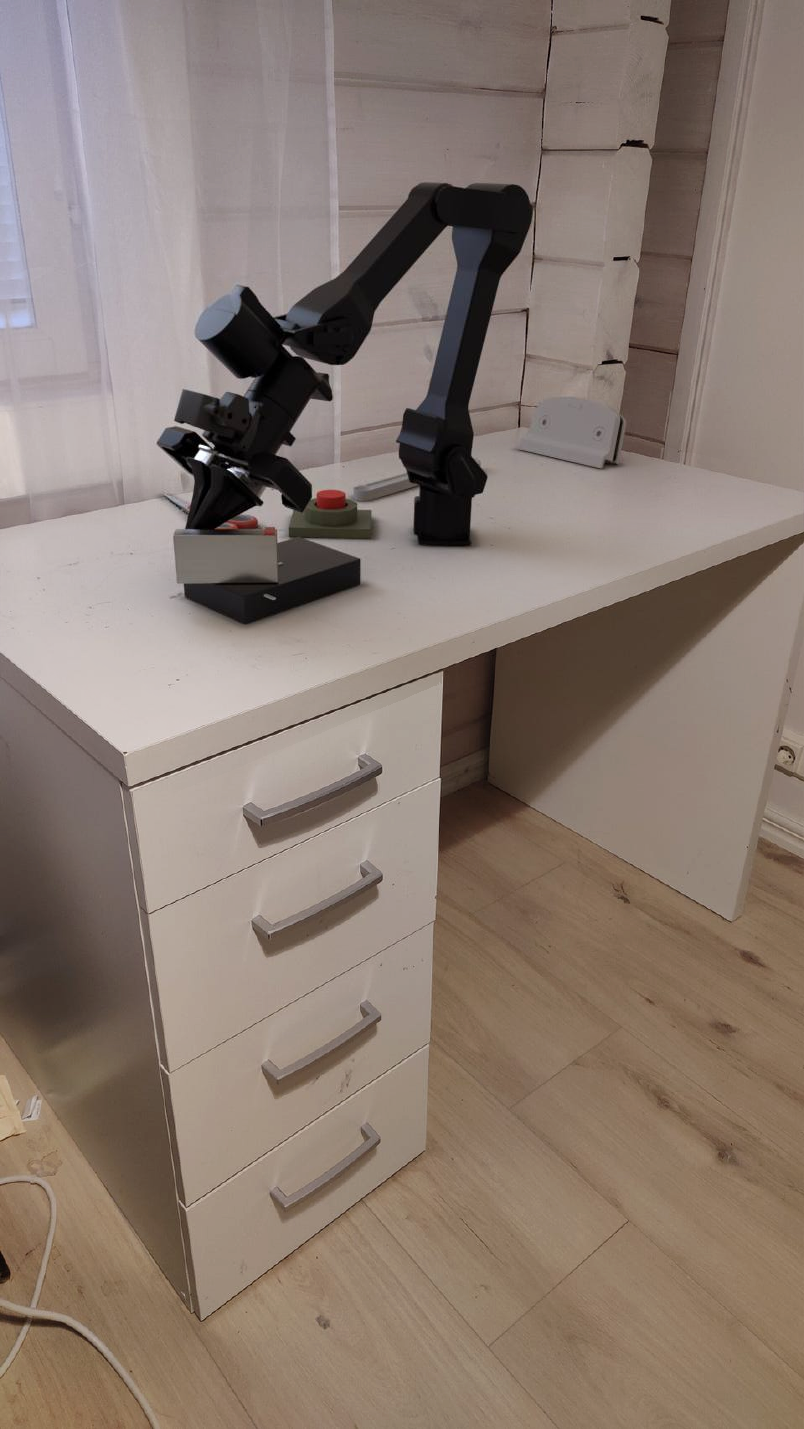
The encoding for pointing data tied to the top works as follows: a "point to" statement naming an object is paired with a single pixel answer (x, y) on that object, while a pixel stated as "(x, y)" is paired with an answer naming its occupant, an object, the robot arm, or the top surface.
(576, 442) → the grey mounting bracket
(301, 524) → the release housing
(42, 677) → the top surface
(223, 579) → the silver metal slab
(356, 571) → the black flat block
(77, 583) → the top surface
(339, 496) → the release button
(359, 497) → the adjustable wrench
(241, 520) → the scissors
